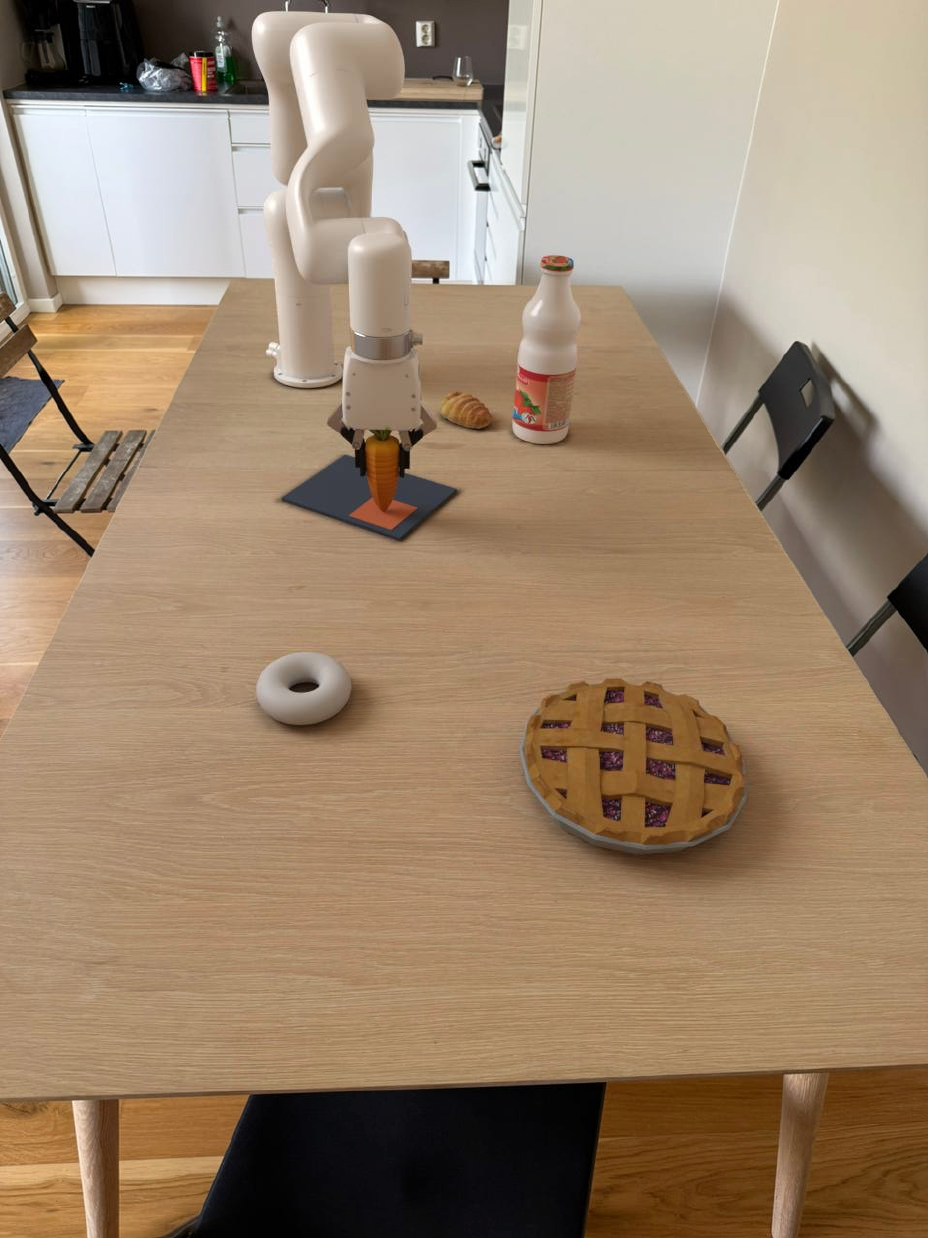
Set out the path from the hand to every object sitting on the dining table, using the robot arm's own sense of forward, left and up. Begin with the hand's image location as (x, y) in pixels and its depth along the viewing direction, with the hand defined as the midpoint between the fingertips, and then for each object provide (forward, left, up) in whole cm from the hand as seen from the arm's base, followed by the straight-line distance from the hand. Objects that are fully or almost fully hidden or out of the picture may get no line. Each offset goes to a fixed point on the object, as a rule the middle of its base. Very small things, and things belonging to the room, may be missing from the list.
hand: (382, 471), depth 122 cm
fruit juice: (+8, +36, -7) cm, 38 cm away
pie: (+48, -30, -7) cm, 56 cm away
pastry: (-5, +34, -7) cm, 36 cm away
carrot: (0, 0, -7) cm, 7 cm away
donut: (+14, -37, -7) cm, 40 cm away
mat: (-4, +3, -7) cm, 9 cm away
